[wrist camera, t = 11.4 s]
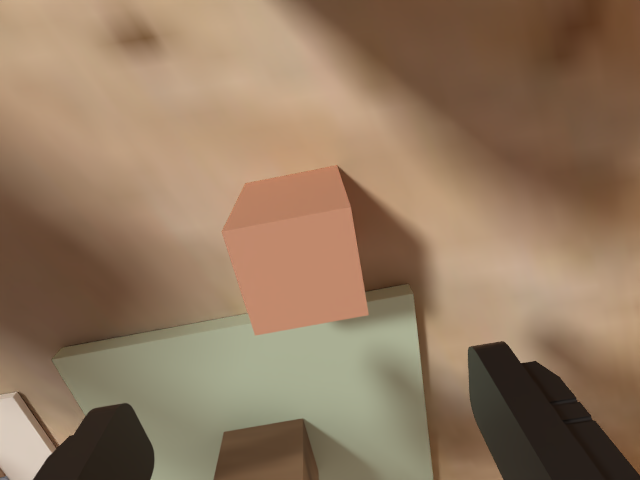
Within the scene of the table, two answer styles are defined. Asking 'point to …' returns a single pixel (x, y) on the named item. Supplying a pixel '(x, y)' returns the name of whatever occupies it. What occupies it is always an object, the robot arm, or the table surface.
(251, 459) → the brick base
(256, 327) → the brick
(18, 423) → the page
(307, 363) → the build plate
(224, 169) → the table surface
